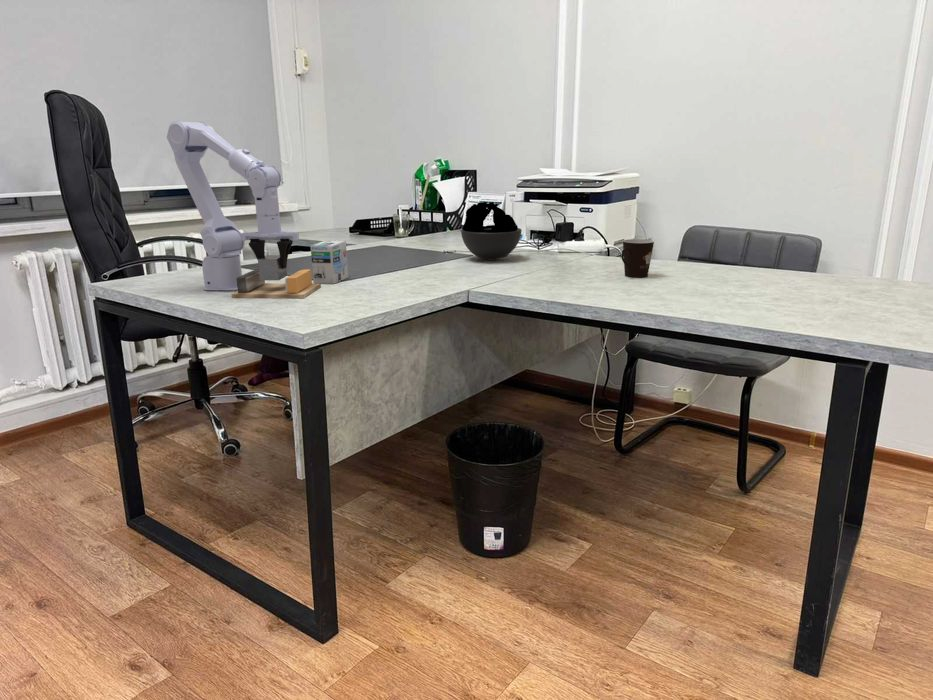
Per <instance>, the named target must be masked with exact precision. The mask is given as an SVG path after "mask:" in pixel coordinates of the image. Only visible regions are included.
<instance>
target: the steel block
mask: <svg viewBox="0 0 933 700" xmlns="http://www.w3.org/2000/svg"><path fill="white" fill-rule="evenodd" d="M257 264H258V269H259V275H260V280H265V281H281V280H282V279H285V278H287V277H288V272H287V267H286V268H284V269H281V264H280V254H279V255H278V254H277V255H276V254H274V255H272V254H271V255H269V254H268V255H267V254H265V256H264V257H262V258H259V259H258V260H257Z"/></svg>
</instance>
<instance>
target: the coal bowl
mask: <svg viewBox="0 0 933 700" xmlns="http://www.w3.org/2000/svg"><path fill="white" fill-rule="evenodd" d="M500 205H501V204H500V203H494V201H490V202H487V201H484V202H483V201H482V202H477V204H476V203H473V204H472V205H471V206H470V207H468V208H467V209H466V210H465V221H464V223H463V225H462V227H461V230H460V234H461V238H462V241H463V243H464V245H465V247H466V248H467V250H468V251H469V252H471V253H472V254H473V255H474V256H475V257H477V258H479V259H482V260H487V261H495V260H500V259H502V258H504V257H505V258H506V257H507V256H508V255H509V254H511V253H512V252H513V251H514V250H515V249H516V247H517V246H518V244H519V242H520V240H521V235H522V228H520V227H518V225H517V222H516V221H515V220H514V218H513V216H512V215H511V214H507V213H506V212H505V210H504V209H502V208H500V207H499V206H500ZM491 212H493V213H492V222H493V224H489V225H484V222H485V220H486V218H487V217H488V216H489V214H490V213H491Z"/></svg>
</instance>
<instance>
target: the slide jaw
mask: <svg viewBox="0 0 933 700" xmlns="http://www.w3.org/2000/svg"><path fill="white" fill-rule="evenodd" d="M284 281H285V282H284V283H286V291H288V293H298V292H299V291H301V290H303V289H304V288H306V287H307V286H309V285H311V284H313V275H312V269H301V270H298V271H296V272H295V273H292V274H291V275H289V276H286V277H284Z"/></svg>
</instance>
